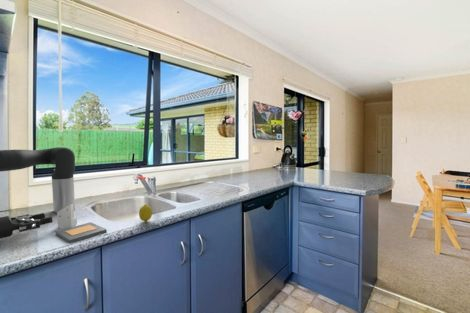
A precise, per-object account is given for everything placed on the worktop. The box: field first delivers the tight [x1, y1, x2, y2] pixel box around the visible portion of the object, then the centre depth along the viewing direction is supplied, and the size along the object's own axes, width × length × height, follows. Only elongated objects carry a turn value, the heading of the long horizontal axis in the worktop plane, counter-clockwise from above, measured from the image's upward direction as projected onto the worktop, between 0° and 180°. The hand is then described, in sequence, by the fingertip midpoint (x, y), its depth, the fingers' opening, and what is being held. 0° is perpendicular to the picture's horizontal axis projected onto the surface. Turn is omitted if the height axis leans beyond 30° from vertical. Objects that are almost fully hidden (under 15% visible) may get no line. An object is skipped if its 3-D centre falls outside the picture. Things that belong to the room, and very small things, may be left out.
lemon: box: [138, 204, 153, 223], centre depth 109 cm, size 6×6×8 cm
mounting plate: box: [55, 221, 108, 244], centre depth 96 cm, size 14×13×1 cm
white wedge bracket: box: [56, 204, 78, 229], centre depth 104 cm, size 4×10×9 cm, turn 92°
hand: (48, 217), depth 98 cm, fingers open, 8 cm apart
